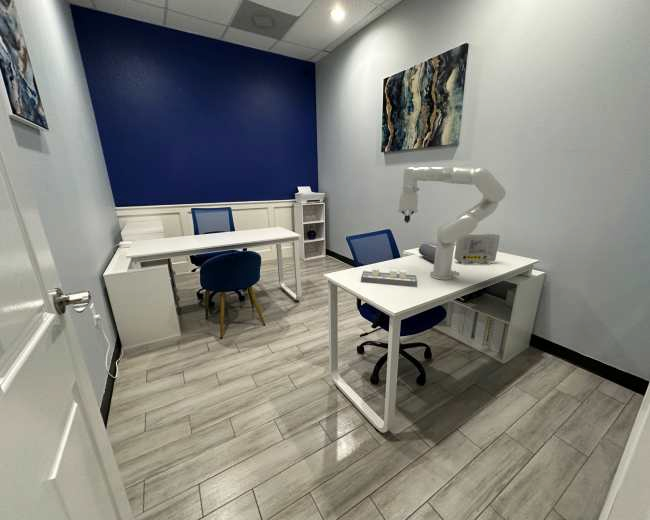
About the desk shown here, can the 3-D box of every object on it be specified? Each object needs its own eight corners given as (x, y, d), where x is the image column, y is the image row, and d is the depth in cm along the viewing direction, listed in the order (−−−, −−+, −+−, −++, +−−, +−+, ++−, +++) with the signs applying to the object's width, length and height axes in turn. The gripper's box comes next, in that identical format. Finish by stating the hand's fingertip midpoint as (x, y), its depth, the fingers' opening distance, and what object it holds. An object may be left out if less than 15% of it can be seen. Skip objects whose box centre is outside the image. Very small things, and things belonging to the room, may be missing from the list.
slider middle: (396, 274, 159) (397, 268, 158) (396, 277, 154) (396, 271, 153) (390, 274, 160) (390, 268, 159) (390, 277, 155) (390, 271, 154)
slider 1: (378, 273, 161) (379, 267, 160) (378, 276, 157) (378, 270, 156) (372, 272, 162) (373, 266, 161) (372, 275, 158) (372, 269, 156)
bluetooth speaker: (448, 265, 184) (450, 250, 181) (435, 266, 182) (437, 251, 179) (428, 255, 205) (430, 242, 202) (417, 256, 203) (418, 243, 200)
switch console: (415, 280, 159) (416, 274, 158) (416, 286, 150) (417, 281, 149) (363, 275, 166) (363, 270, 165) (361, 281, 157) (361, 276, 156)
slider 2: (405, 275, 158) (406, 269, 157) (405, 278, 153) (406, 272, 152) (399, 274, 159) (399, 269, 157) (399, 277, 154) (399, 271, 153)
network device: (489, 261, 192) (495, 232, 186) (496, 265, 184) (502, 235, 178) (452, 261, 193) (456, 232, 187) (457, 265, 185) (462, 235, 179)
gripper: (422, 189, 159) (419, 221, 164) (395, 189, 162) (393, 221, 168) (424, 190, 152) (420, 224, 157) (395, 190, 155) (393, 223, 161)
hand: (406, 222), depth 162 cm, fingers closed
